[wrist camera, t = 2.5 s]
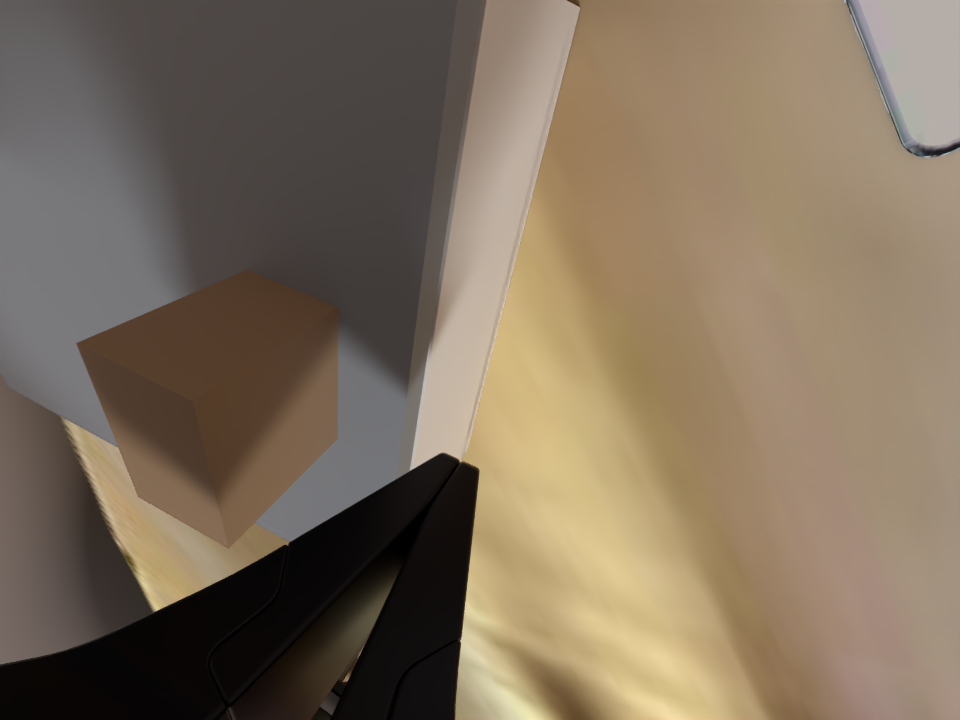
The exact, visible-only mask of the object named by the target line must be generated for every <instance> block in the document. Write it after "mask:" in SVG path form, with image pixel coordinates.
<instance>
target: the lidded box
mask: <svg viewBox="0 0 960 720" xmlns="http://www.w3.org/2000/svg"><path fill="white" fill-rule="evenodd" d="M579 11H580V7H578V6H576V5H574V4H573V3H571V2H569V1H567V0H481V5H480V12H479V19H478V25H477V32H476V38H475V45H474V52H473V58H472V65H471V71H470V78H469V84H468V91H467V98H466V104H465V111H464V117H463V124H462V131H461V137H460V144H459V150H458V157H457V163H456V170H455V177H454V183H453V190H452V196H451V203H450V210H449V216H448V223H447V229H446V236H445V242H444V249H443V256H442V262H441V269H440V275H439V282H438V289H437V295H436V302H435V308H434V315H433V321H432V328H431V335H430V341H429V348H428V354H427V361H426V368H425V374H424V381H423V387H422V394H421V400H420V407H419V414H418V420H417V427H416V433H415V440H414V447H413V453H412V460H411V466H410V471H411V470H412V469H414V468H416V467H417V466H419V465H421V464H422V463H424V462H426V461H428V460H429V459H431V458H433V457H434V456H436V455H438V454H440V453H447V454H449V455H451V456H453V457H456V458H458V459H459V460H460V461H461V459H462V458H463V456H464V454H465V453H466V451H467V450H468V446H469V442H470V438H471V434H472V430H473V426H474V422H475V419H476V415H477V411H478V407H479V403H480V399H481V395H482V391H483V387H484V383H485V379H486V375H487V372H488V368H489V364H490V360H491V356H492V352H493V348H494V344H495V340H496V336H497V332H498V328H499V325H500V321H501V317H502V313H503V309H504V305H505V301H506V297H507V293H508V289H509V285H510V281H511V278H512V274H513V270H514V266H515V262H516V258H517V254H518V250H519V246H520V242H521V238H522V234H523V231H524V227H525V223H526V219H527V215H528V211H529V207H530V203H531V199H532V195H533V191H534V187H535V184H536V180H537V176H538V172H539V168H540V164H541V160H542V156H543V152H544V148H545V144H546V140H547V137H548V133H549V129H550V125H551V121H552V117H553V113H554V109H555V105H556V101H557V97H558V94H559V90H560V86H561V82H562V78H563V74H564V70H565V66H566V62H567V58H568V54H569V50H570V47H571V43H572V39H573V35H574V31H575V27H576V23H577V19H578V15H579Z"/></svg>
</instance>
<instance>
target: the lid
mask: <svg viewBox="0 0 960 720" xmlns="http://www.w3.org/2000/svg"><path fill="white" fill-rule="evenodd" d="M480 5H481V0H0V373H1V375H2V377H3V379H4V381H5V382H6V384H7V386H8V387H9V388H10V389H12V390H14V391H16V392H18V393H20V394H21V395H23V396H25V397H27V398H29V399H30V400H32V401H34V402H36V403H38V404H40V405H41V406H43V407H45V408H47V409H49V410H50V411H52V412H54V413H56V414H58V415H60V416H61V417H63V418H65V419H67V420H69V421H70V422H72V423H74V424H76V425H78V426H80V427H81V428H83V429H85V430H87V431H89V432H90V433H92V434H94V435H96V436H98V437H100V438H101V439H103V440H105V441H107V442H109V443H110V444H112V445H114V446H116V447H118V448H119V450H120V453H121V455H122V458H123V460H124V463H125V465H126V468H127V470H128V472H129V475H130V477H131V480H132V482H133V485H134V487H135V490H136V492H137V495H138V497H139V498H141V499H143V500H145V501H146V502H148V503H150V504H152V505H153V506H155V507H157V508H159V509H160V510H162V511H164V512H166V513H167V514H169V515H171V516H173V517H174V518H176V519H178V520H180V521H181V522H183V523H185V524H187V525H188V526H190V527H192V528H194V529H195V530H197V531H199V532H201V533H202V534H204V535H206V536H207V537H209V538H211V539H213V540H214V541H216V542H218V543H220V544H221V545H223V546H225V547H227V548H228V549H229V548H230V547H231V546H232V545H233V544H234V543H235V542H236V541H237V540H238V539H239V538H240V537H241V536H242V535H243V534H244V533H245V532H246V531H247V530H248V529H249V528H250V527H251V526H252V525H253V524H254V523H256V524H258V525H260V526H262V527H263V528H265V529H267V530H269V531H271V532H272V533H274V534H276V535H278V536H280V537H282V538H283V539H285V540H287V541H289V542H290V541H292V540H294V539H296V538H297V537H299V536H301V535H302V534H304V533H306V532H307V531H309V530H311V529H312V528H314V527H316V526H318V525H319V524H321V523H323V522H324V521H326V520H328V519H329V518H331V517H333V516H334V515H336V514H338V513H340V512H341V511H343V510H345V509H346V508H348V507H350V506H351V505H353V504H355V503H356V502H358V501H360V500H362V499H363V498H365V497H367V496H368V495H370V494H372V493H373V492H375V491H377V490H378V489H380V488H382V487H384V486H385V485H387V484H389V483H390V482H392V481H394V480H395V479H397V478H399V477H400V476H402V475H404V474H406V473H407V472H409V471H410V466H411V460H412V453H413V447H414V440H415V433H416V427H417V420H418V414H419V407H420V400H421V394H422V387H423V381H424V374H425V368H426V361H427V354H428V348H429V341H430V335H431V328H432V321H433V315H434V308H435V302H436V295H437V289H438V282H439V275H440V269H441V262H442V256H443V249H444V242H445V236H446V229H447V223H448V216H449V210H450V203H451V196H452V190H453V183H454V177H455V170H456V163H457V157H458V150H459V144H460V137H461V131H462V124H463V117H464V111H465V104H466V98H467V91H468V84H469V78H470V71H471V65H472V58H473V52H474V45H475V38H476V32H477V25H478V19H479V12H480Z"/></svg>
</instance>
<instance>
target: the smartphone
mask: <svg viewBox="0 0 960 720" xmlns="http://www.w3.org/2000/svg"><path fill="white" fill-rule="evenodd" d="M844 2H845V4H846V3H847V5H848V7H849V10H850V12H851V13H850V14H851V20H852V23H853V25H854V28H855V30H856V33H857V35H858V38H859V40H860V42H861V44H862V46H863V48H864V51H865V53H866V56H867V58H868V60H869V63H870V64H871V68H872V71H873V74H874V76H875V79H876V82H877V85H878V88H879V91H880V94H881V97H882V100H883V102H884V105H885V107H886V110H887V112H888V113H890V115H891V118H892V120H893V123H894V125H895V128H896V131H897V133H898V136H899V138H900V141H901V143H902V145H903V146H904V148H905V149H906V150H907V151H909V152H910V153H912V154H914V155H916V156H920V157H937V156H942V155H946V154H948V153H951V152H953V151H956V150H958V149H960V0H844Z"/></svg>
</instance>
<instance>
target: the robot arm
mask: <svg viewBox="0 0 960 720" xmlns="http://www.w3.org/2000/svg"><path fill="white" fill-rule="evenodd" d="M478 481H479V469H478V468H477V467H475V466H473V465H471V464H469V463H466V462H461V463H460V460H459V459H458V458H456V457H453V456H451V455H449V454H447V453H440V454H438V455H436V456H434V457H433V458H431V459H429V460H428V461H426V462H424V463H422V464H421V465H419V466H417V467H416V468H414V469H412V470H411V471H409V472H407V473H406V474H404V475H402V476H400V477H399V478H397V479H395V480H394V481H392V482H390V483H389V484H387V485H385V486H384V487H382V488H380V489H378V490H377V491H375V492H373V493H372V494H370V495H368V496H367V497H365V498H363V499H362V500H360V501H358V502H356V503H355V504H353V505H351V506H350V507H348V508H346V509H345V510H343V511H341V512H340V513H338V514H336V515H334V516H333V517H331V518H329V519H328V520H326V521H324V522H323V523H321V524H319V525H318V526H316V527H314V528H312V529H311V530H309V531H307V532H306V533H304V534H302V535H301V536H299V537H297V538H296V539H294V540H292V541H290V542H289V545H288V546H287V545H283V546H282V547H280V548H278V549H277V550H275V551H273V552H272V553H270V554H268V555H267V556H265V557H263V558H261V559H259V560H258V561H256V562H254V563H252V564H250V565H249V566H247V567H245V568H243V569H242V570H240V571H238V572H236V573H234V574H232V575H230V576H228V577H226V578H224V579H222V580H220V581H218V582H216V583H214V584H212V585H210V586H208V587H206V588H204V589H202V590H200V591H198V592H196V593H194V594H192V595H190V596H187V597H185V598H183V599H181V600H179V601H177V602H175V603H173V604H170V605H168V606H166V607H164V608H162V609H160V610H158V611H156V612H154V613H151V614H149V615H147V616H145V617H143V618H141V619H139V620H137V621H134V622H132V623H130V624H128V625H126V626H124V627H122V628H120V629H117V630H115V631H113V632H111V633H109V634H107V635H104V636H102V637H100V638H98V639H95V640H92V641H90V642H87V643H85V644H82V645H79V646H76V647H73V648H70V649H68V650H64V651H60V652H56V653H53V654H50V655H45V656H41V657H36V658H31V659H25V660H21V661H16V662H11V663H6V664H1V665H0V720H455V705H456V692H457V679H458V667H459V658H460V649H461V642H460V640H461V637H462V628H463V619H464V610H465V601H466V591H467V582H468V573H469V564H470V555H471V546H472V536H473V527H474V518H475V509H476V500H477V490H478ZM364 645H365V646H364ZM363 646H364V648H363ZM362 648H363V650H362ZM361 650H362V652H361V654H360V656H359V659H358V661H357V663H356V665H355V667H354V669H353V671H352V674H351V676H350V678H349V680H348V682H347V684H345V683H343V680H344V679H345V677H346V675H347V673H348V672H349V670H350V668H351V667H352V665H353V663H354V662H355V660H356V658H357V656H358V655H359V653H360V651H361Z"/></svg>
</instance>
